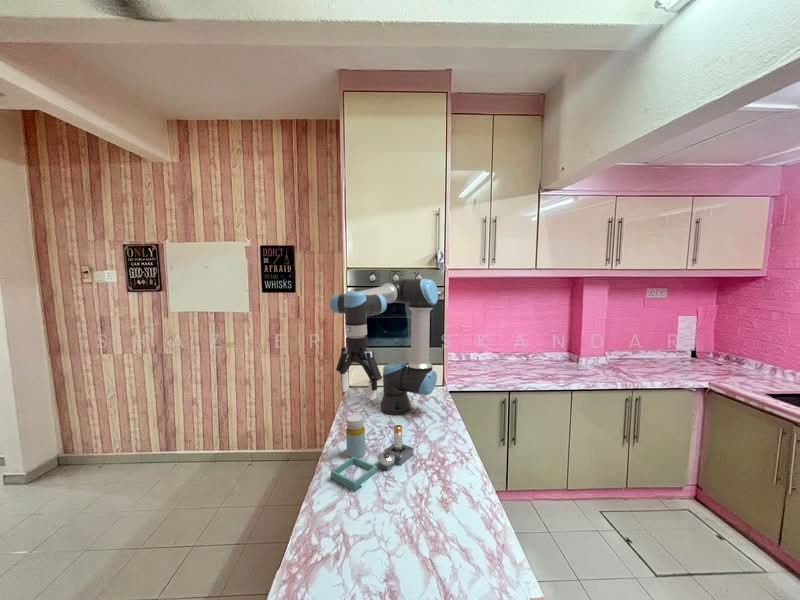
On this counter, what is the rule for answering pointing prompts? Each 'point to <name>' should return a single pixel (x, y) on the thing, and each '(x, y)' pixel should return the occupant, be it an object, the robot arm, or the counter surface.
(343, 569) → the counter surface
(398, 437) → the pin
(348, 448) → the bottle
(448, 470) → the counter surface
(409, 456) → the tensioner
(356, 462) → the tray
